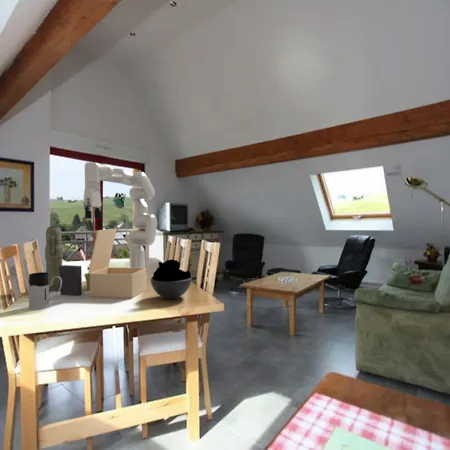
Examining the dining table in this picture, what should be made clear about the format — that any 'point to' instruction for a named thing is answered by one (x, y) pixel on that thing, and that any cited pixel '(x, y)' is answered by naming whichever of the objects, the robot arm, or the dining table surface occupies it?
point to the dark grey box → (70, 280)
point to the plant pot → (87, 280)
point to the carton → (117, 282)
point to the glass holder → (39, 291)
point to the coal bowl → (170, 279)
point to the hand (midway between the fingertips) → (93, 218)
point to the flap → (102, 249)
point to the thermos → (53, 256)
